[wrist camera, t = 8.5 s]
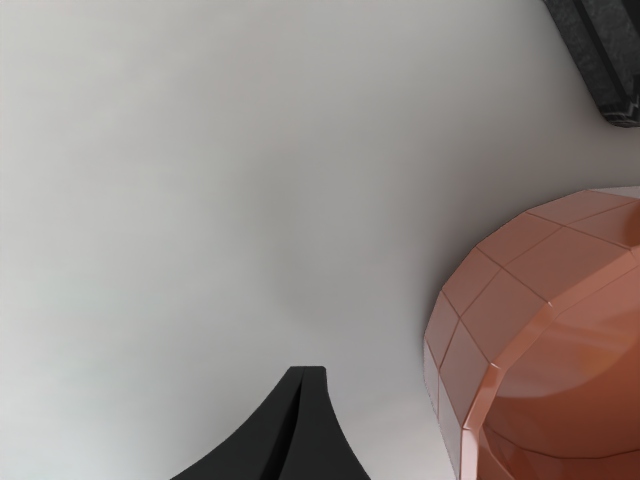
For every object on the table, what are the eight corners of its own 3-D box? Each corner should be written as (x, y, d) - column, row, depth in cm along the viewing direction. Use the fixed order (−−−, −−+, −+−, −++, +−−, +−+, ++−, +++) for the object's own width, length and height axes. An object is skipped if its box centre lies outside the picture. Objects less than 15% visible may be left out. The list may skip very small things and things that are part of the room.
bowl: (724, 473, 15) (927, 649, 10) (420, 469, 16) (455, 622, 11) (805, 172, 12) (1174, 191, 7) (419, 197, 13) (467, 229, 8)
